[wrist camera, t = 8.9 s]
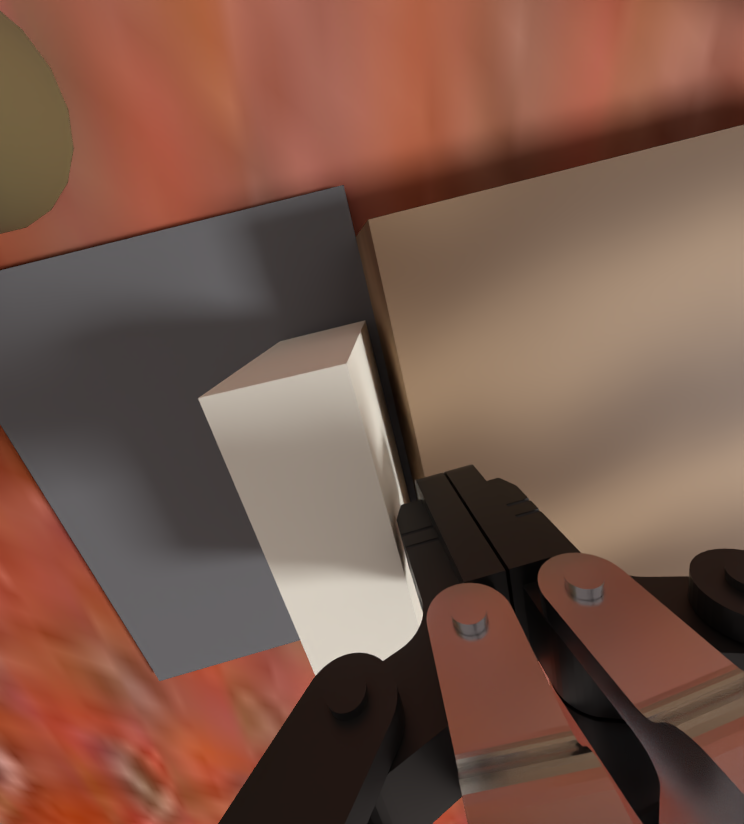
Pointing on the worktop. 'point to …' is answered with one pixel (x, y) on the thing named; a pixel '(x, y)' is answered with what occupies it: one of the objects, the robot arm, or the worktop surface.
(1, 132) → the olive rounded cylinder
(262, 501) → the ivory card box
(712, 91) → the worktop surface
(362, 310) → the charcoal mat
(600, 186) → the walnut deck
